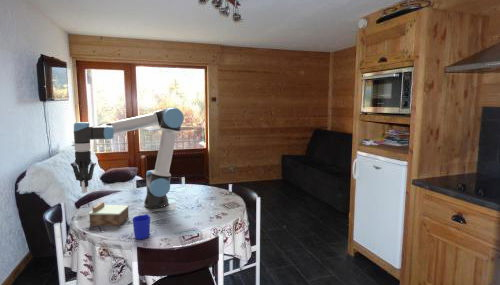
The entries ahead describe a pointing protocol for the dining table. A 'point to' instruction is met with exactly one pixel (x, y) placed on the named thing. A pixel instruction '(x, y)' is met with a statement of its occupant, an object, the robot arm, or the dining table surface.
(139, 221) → the mug
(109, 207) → the lid
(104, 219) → the box
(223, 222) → the dining table surface
